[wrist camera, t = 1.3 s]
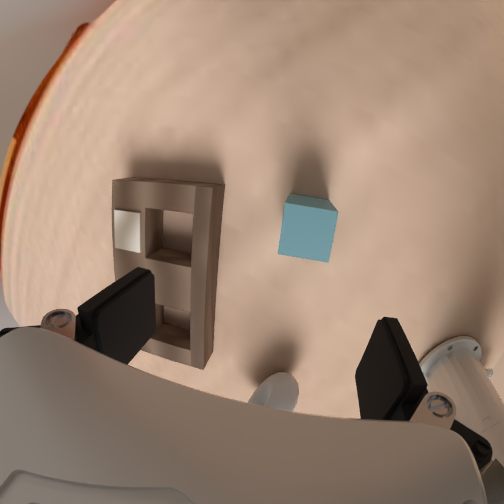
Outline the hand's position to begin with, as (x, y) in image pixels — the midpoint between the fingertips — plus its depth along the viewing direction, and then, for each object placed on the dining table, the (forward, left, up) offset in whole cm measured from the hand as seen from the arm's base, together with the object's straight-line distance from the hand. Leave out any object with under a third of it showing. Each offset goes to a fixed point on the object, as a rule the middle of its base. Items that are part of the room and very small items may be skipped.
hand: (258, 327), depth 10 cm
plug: (-2, -1, -19) cm, 19 cm away
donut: (-2, +22, -19) cm, 29 cm away
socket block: (+13, +8, -19) cm, 25 cm away
